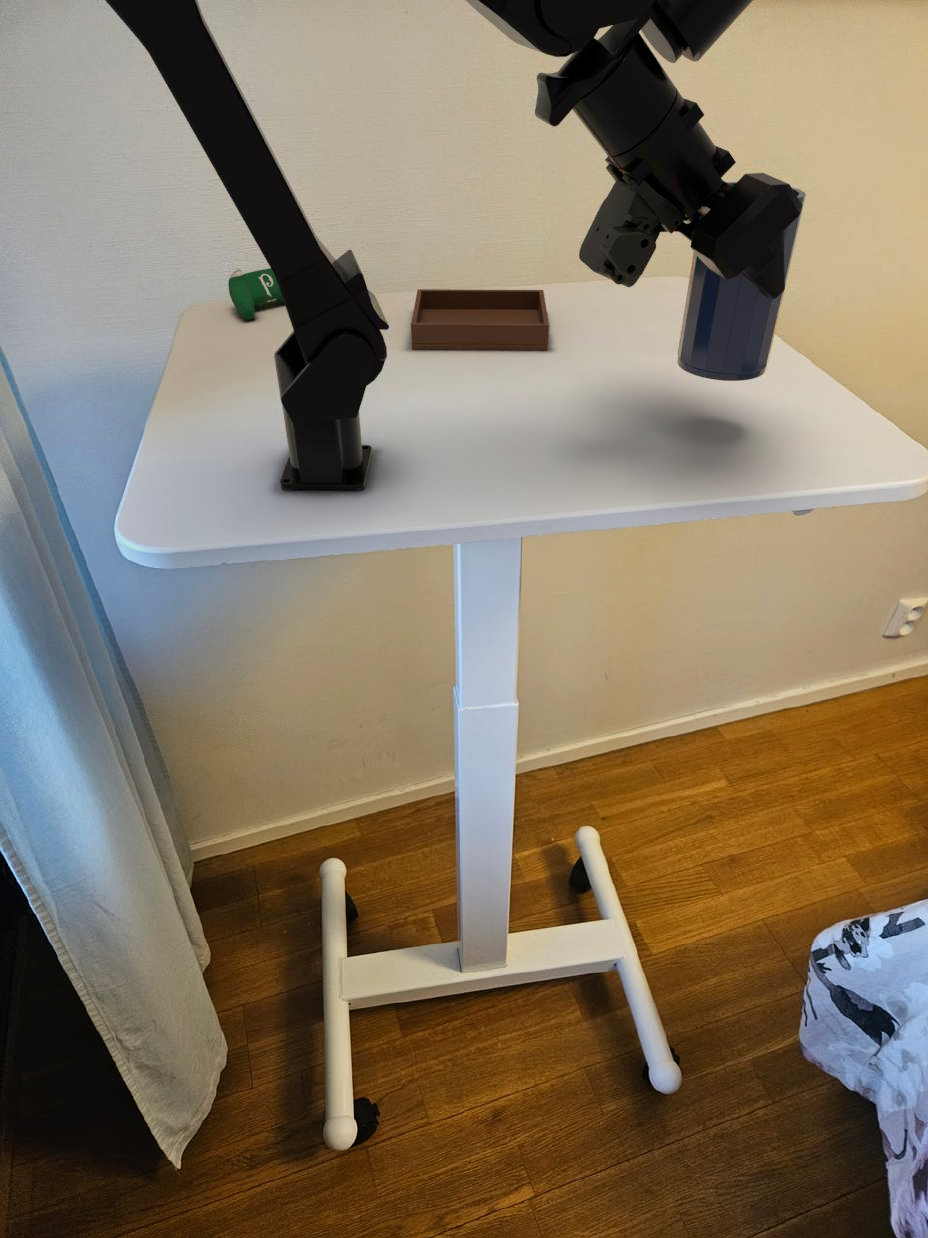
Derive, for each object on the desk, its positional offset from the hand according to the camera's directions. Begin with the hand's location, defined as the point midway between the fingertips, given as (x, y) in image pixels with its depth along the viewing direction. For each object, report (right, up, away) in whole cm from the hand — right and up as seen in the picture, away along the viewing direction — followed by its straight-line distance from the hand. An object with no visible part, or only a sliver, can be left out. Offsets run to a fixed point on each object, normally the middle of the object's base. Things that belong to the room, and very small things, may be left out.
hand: (753, 278), depth 66 cm
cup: (-1, -6, +4) cm, 7 cm away
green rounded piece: (-45, +9, +32) cm, 56 cm away
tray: (-21, +5, +26) cm, 33 cm away
